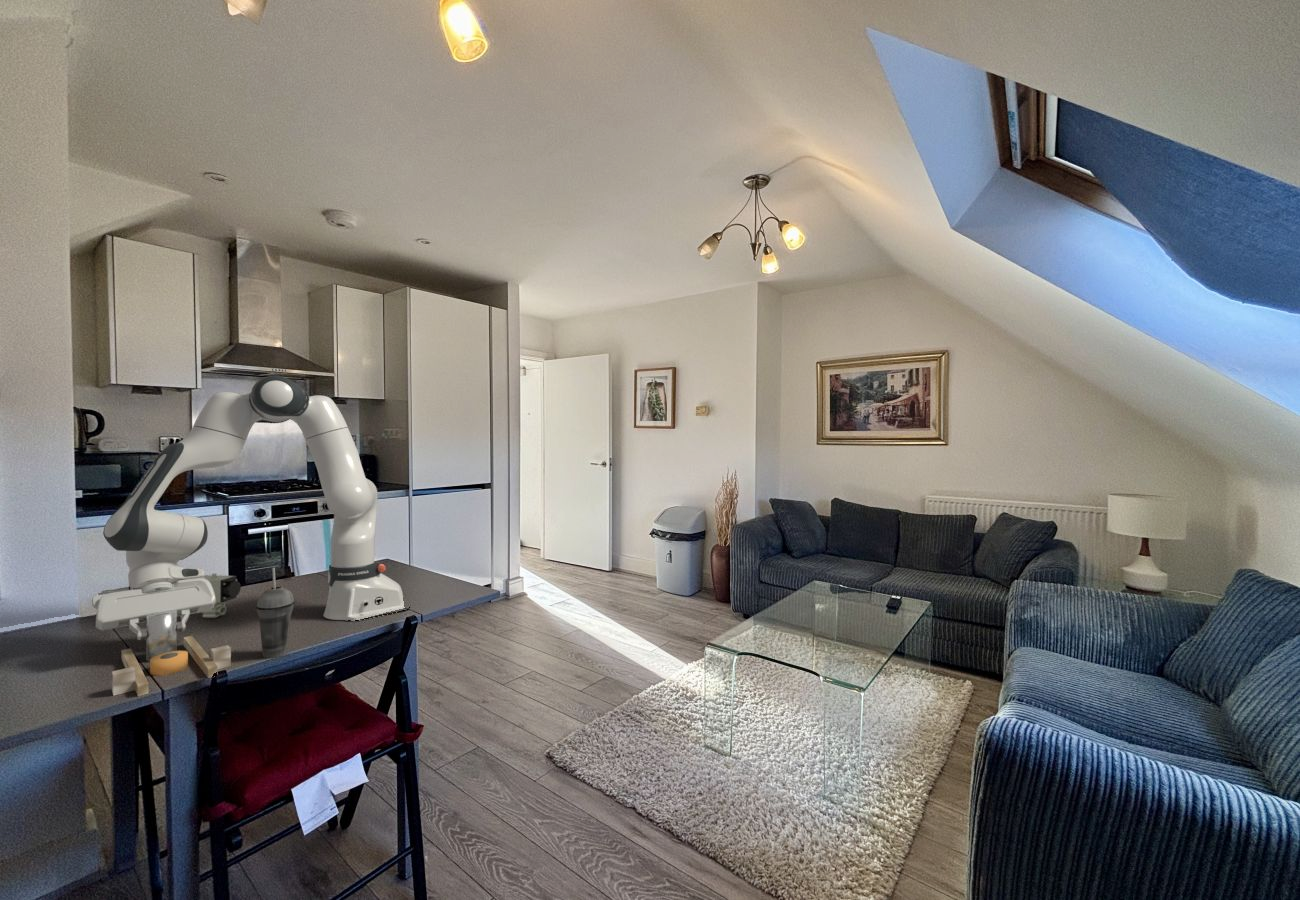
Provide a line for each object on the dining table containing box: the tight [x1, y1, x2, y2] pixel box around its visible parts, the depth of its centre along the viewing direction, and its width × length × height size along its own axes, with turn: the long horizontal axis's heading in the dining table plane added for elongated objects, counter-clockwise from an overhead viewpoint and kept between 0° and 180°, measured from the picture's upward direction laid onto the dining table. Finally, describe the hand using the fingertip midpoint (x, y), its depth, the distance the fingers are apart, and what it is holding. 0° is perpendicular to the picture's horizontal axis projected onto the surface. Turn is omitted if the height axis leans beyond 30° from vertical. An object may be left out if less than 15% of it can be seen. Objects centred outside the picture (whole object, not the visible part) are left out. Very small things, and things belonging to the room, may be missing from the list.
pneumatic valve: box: [201, 573, 242, 619], centre depth 146 cm, size 6×12×12 cm, turn 89°
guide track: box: [111, 635, 232, 697], centre depth 113 cm, size 18×26×4 cm
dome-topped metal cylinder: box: [145, 610, 178, 663], centre depth 118 cm, size 5×5×10 cm
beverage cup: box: [255, 567, 295, 659], centre depth 121 cm, size 7×7×20 cm
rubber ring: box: [149, 650, 189, 677], centre depth 112 cm, size 6×6×3 cm
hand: (162, 634), depth 118 cm, fingers closed on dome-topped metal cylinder, 5 cm apart
